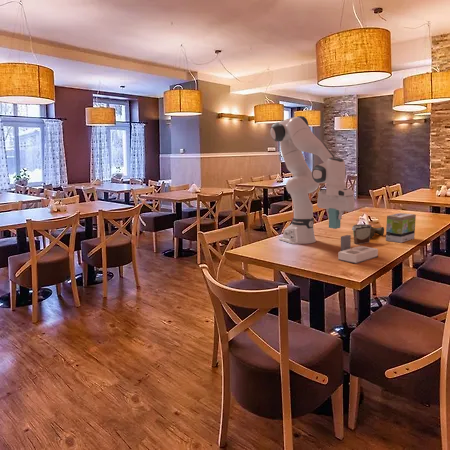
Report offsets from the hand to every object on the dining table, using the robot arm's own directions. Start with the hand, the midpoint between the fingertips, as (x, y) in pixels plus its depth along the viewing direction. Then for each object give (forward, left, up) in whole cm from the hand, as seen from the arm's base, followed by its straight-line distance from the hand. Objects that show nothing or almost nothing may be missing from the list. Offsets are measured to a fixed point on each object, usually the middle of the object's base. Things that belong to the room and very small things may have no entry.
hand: (334, 218), depth 207 cm
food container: (-9, +34, -19) cm, 40 cm away
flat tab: (0, +9, -19) cm, 21 cm away
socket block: (+11, +4, -19) cm, 23 cm away
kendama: (-13, +54, -20) cm, 59 cm away
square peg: (0, 0, -5) cm, 5 cm away
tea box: (+4, +55, -19) cm, 58 cm away
